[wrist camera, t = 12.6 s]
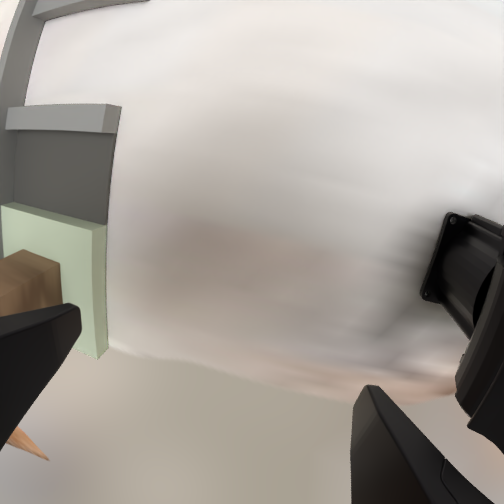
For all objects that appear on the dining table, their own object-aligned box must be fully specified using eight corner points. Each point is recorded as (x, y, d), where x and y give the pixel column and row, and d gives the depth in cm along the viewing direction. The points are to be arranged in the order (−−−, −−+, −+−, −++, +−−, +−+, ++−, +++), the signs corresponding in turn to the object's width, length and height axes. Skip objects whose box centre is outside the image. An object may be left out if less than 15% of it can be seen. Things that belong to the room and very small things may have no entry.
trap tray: (108, 348, 26) (89, 368, 23) (18, 305, 27) (-2, 318, 24) (156, -20, 16) (136, -39, 12) (43, 6, 17) (20, -3, 13)
